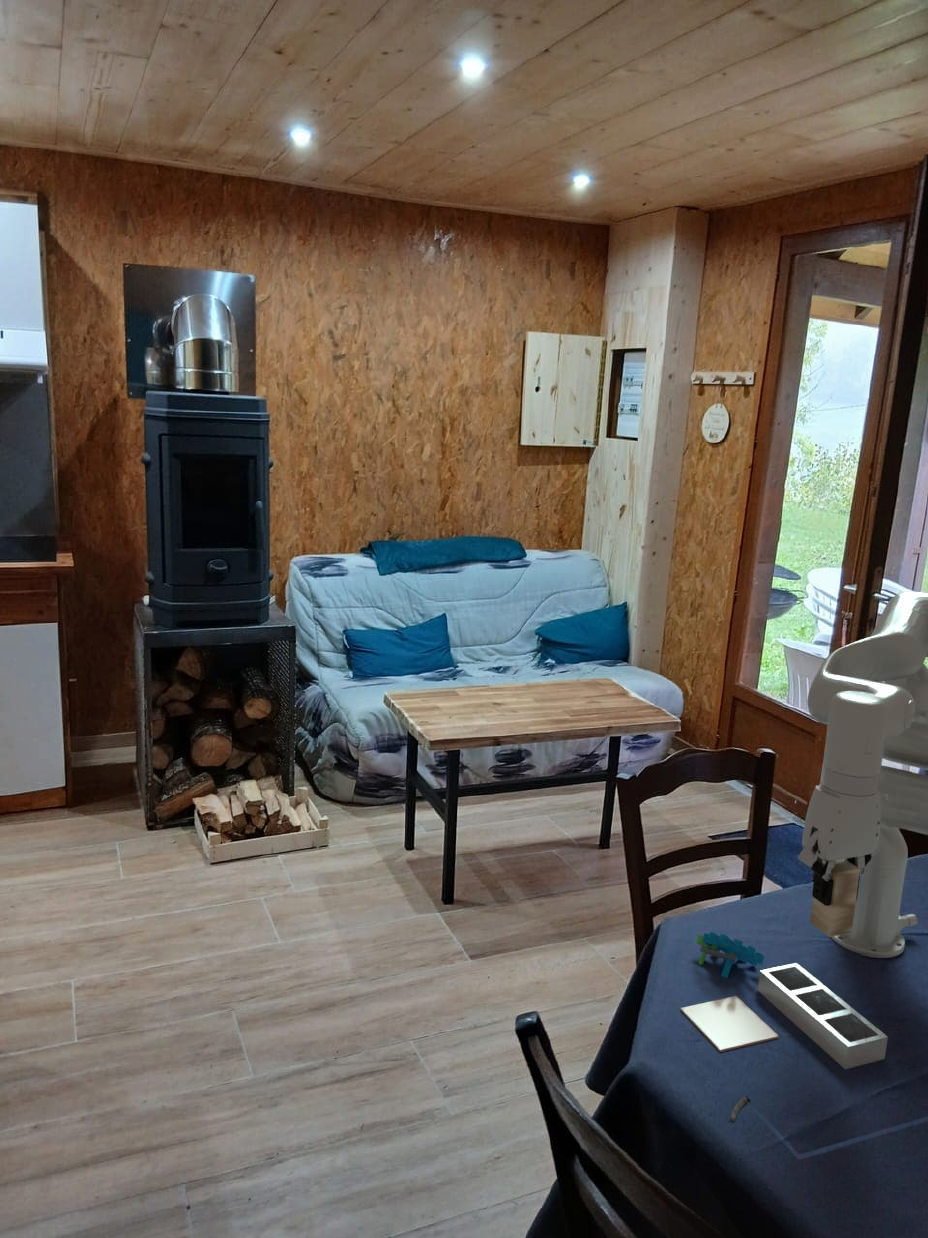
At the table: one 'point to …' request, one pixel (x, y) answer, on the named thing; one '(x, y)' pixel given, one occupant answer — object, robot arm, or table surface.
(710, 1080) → the table surface
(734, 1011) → the tile
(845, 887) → the peg
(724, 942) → the gear
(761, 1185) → the table surface
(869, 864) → the robot arm
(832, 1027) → the shelf
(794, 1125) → the table surface
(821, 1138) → the table surface
